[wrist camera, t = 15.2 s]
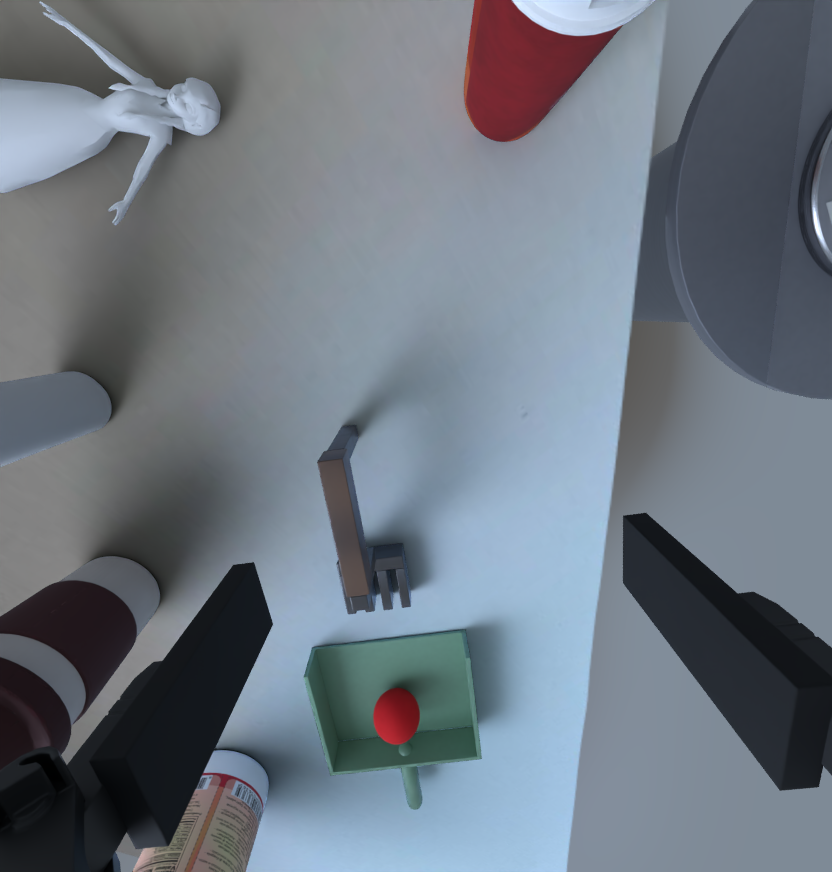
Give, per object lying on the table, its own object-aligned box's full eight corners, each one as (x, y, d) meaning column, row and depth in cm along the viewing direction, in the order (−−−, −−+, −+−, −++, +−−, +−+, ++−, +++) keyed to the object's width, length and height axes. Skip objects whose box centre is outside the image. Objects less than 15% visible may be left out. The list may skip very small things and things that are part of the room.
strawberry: (425, 741, 35) (417, 742, 39) (421, 683, 38) (414, 689, 41) (375, 746, 34) (372, 747, 38) (374, 686, 37) (371, 692, 41)
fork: (314, 430, 32) (284, 466, 25) (383, 420, 32) (375, 454, 24) (350, 599, 37) (335, 673, 29) (410, 591, 37) (411, 664, 29)
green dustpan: (312, 647, 38) (303, 677, 35) (465, 629, 38) (470, 657, 35) (349, 792, 44) (344, 829, 41) (482, 778, 44) (488, 814, 41)
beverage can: (59, 359, 30) (-155, 387, 19) (123, 386, 31) (-46, 428, 19) (47, 415, 32) (-161, 473, 20) (108, 440, 32) (-58, 510, 21)
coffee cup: (194, 621, 37) (60, 812, 23) (95, 642, 38) (-97, 841, 24) (150, 529, 35) (-35, 682, 20) (44, 553, 35) (-210, 718, 21)
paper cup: (576, 138, 27) (744, -40, 13) (465, 177, 27) (519, 44, 14) (552, -6, 24) (725, -393, 11) (431, 40, 25) (458, -276, 12)
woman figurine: (-189, -12, 20) (170, -53, 21) (-90, 45, 25) (206, 10, 25) (-74, 238, 24) (232, 196, 24) (-5, 251, 28) (254, 214, 29)
